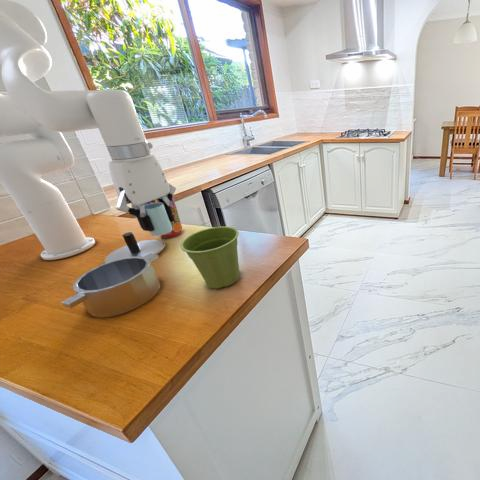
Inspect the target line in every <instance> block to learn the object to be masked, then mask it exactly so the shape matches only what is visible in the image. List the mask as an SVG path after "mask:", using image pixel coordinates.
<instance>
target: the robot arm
mask: <svg viewBox="0 0 480 480" xmlns="http://www.w3.org/2000/svg"><path fill="white" fill-rule="evenodd" d="M47 41H48V35H47V29H46V27H45V26H44V24H43V22H42V20H41V19H40V18H39V17H38V15H36V14H35V12H33V10H31V9H30V8H28V7H27V6H25V5H24V4H22V3H19V2H16V1H13V0H0V66H1V69H0V76H1V81H2V83H3V86H4V88H5V90H6V92H7V94H2V93H0V138H4V137H5V138H6V137H12V136H19V135H31V137H32V138H29V139H20V140H13V141H6V142H0V185H2V187H3V188H4V189H5V191H6V192H7V194H8V195H9V196H10V198H11V199H12V201H13V202H14V203H15V205H16V207H17V208H18V210H19V211H20V212H21V214H22V216H23V217H24V219H25V220H26V223H28V225H29V227H30V228H31V230H32V231H33V233H34V234H35V236H36V238H37V239H38V241H39V242H40V244H41V246H42V247H43V248H44V250H42V251H41V253H40V257H41V259H42V260H44V261H56V260H62V259H66V258H69V257H73V256H76V255H78V254H81V253H83V252H86V251H87V250H89V249H91V248H92V247H94V246H95V244H96V240H95V238H94V237H90V236H86V235H85V233H84V231H83V229H82V228H81V226H80V224H79V221H77V219H76V217H75V215H74V213H73V212H72V209H71V207H70V206H69V204H68V201H66V199H65V197H64V196H63V194H62V192H61V190H60V189H59V188H58V187H56V186H55V185H53V184H52V183H50V182H48V181H46V180H44V179H43V178H42V177H44V176H49V175H52V174H56V173H61V172H64V171H67V170H70V169H71V168H73V167H74V165H75V157H74V156H75V155H74V154H73V151H72V149H71V147H70V146H69V144H68V142H67V140H66V139H65V137H64V134H63V133H71V132H78V131H85V130H94V129H98V131H99V133H100V135H101V138H102V140H103V142H104V145H105V147H106V150H107V151H108V154H109V157H110V159H111V161H108V168H109V172H110V177H111V180H112V184H113V187H114V190H115V192H116V195H117V198H118V199H117V203H116V206H115V209H116V210H117V211H119V212H123V213H127V214H129V215H131V216H133V217H136V220H137V222H138V224H139V227H140V229H142V230H143V231H146V232H149V231H151V232H152V231H154V227H153V225H152V222H151V220H150V217H149V216H147V215H146V213H145V203H147V202H150V201H152V200H155V199H156V200H157V201H158V202H161V203H163V204H164V206H165V209H166V212H167V214H168V217H169V220H170V221H171V222H173V221H174V218H173V214H172V211H171V208H170V206H171V200H172V197H173V198H174V194H175V192H176V190H177V188H176V187H175V186H174V185H172V184H171V183H170V182H168V179H167V177H166V175H165V173H164V170H163V168H162V166H161V164H160V163H159V161H158V159H157V157H156V156H155V154H152V151H151V149H153V144H152V143H151V142H148V141H147V138H146V135H145V133H144V130H143V127H142V124H141V121H140V118H139V115H138V113H137V111H136V108H135V105H134V102H133V99H132V97H131V95H130V94H129V93H128V92H127V91H125V90H123V89H99V90H93V89H91V90H88V89H87V90H45V89H43V88H42V87H40V86H39V84H36V83H35V82H37V81H38V80H41V79H42V78H44V77H45V76H46V75H47V74H49V72H50V71H51V68H52V63H53V61H52V57H51V54H50V53H49V52H48V50H47V48H45V47H44V46H45V45H46V43H47ZM130 204H131V206H128V205H130Z"/></svg>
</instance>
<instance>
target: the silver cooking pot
mask: <svg viewBox="0 0 480 480" xmlns="http://www.w3.org/2000/svg"><path fill="white" fill-rule="evenodd" d="M158 254H159V253H158ZM158 254H152V253H150V254H148V255H146V256H144V257H140V256H136V257H126V258H121V259H117V260H113V261H110V262H108V263H105V262H104V263H102V264H100V265H98V266H96V267H93V268H92V269H90V270H88V271H86V272H84V273H83V274H82V275H80V276H79V277H77V279H76V280H75V281H74V283H73V284H72V288H73V290H74V292H75V294H74V295H71V296H70V297H68V298H66V299H64V300H63V301H61V304H62V306H63V307H66V308H70V309H73V308H75V307H76V306H78V305H80V304H81V303H82V304H83V306H84V308H85V309H86V311H87V312H88V314H90V315H91V316H92V317H94V318H111V317H116V316H120V315H122V314H125V313H128V312H131V311H133V310H135V309H138V308H140V307H141V306H143V305H145V304H146V303H148V302H150V300H152V299H153V298H154V297H155V296H156V295H157V294H158V292H159V291H160V289H161V282H160V279H159V277H158V275H157V273H156V271H155V269H154V266H153V264H152V262H154V261H156V260H158V259H159V258H160V257H159V255H158Z"/></svg>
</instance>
